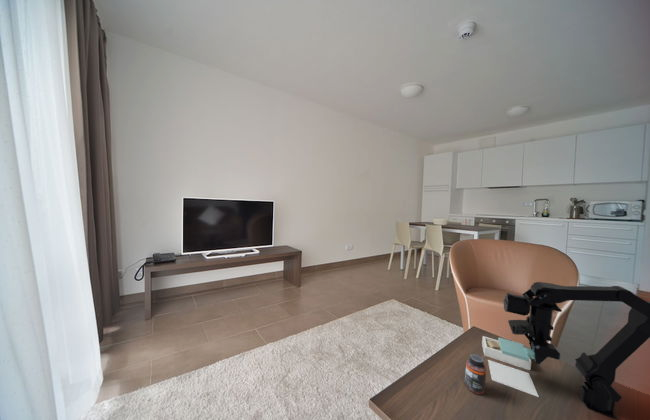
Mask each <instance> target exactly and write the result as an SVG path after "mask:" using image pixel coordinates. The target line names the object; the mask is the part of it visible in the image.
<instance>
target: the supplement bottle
mask: <svg viewBox="0 0 650 420" xmlns="http://www.w3.org/2000/svg"><path fill="white" fill-rule="evenodd" d="M464 374H465V377H464V385H465V387H466V388H467V390H469V391H470V392H472V393H474V394H476V395H483V394H484V393H485V390H486V379H487V366H486V365H485V361H484V358H483V357H481V356H480V355H478V354H475V353H471V354H470V355H469V358H468V359H466V363H465V373H464Z"/></svg>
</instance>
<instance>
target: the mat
mask: <svg viewBox="0 0 650 420" xmlns="http://www.w3.org/2000/svg"><path fill="white" fill-rule="evenodd" d="M487 364H488V367H489V372H490V377H491V381H493V382H496V383H498V384H501V385H505V386H507V387H510V388H512V389H516V390H518V391H521V392H523V393H526V394H528V395H532V396H534V397H537V398H539V393H538V392H537V390H536V386H535V385H534V382H533V379H532V378H531V375H530V373H529V372H526V371H523V370H521V369H518V368H514V367H512V366H508V365H505V364H502V363H499V362H496V361H494V360H490V359H487Z"/></svg>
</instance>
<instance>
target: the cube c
mask: <svg viewBox="0 0 650 420" xmlns="http://www.w3.org/2000/svg"><path fill="white" fill-rule="evenodd" d="M487 347H489V348H493V349H496V350H499V351H501V348H500V345H499V343H498V342H495V341H488V340H487Z"/></svg>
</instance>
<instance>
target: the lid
mask: <svg viewBox="0 0 650 420" xmlns="http://www.w3.org/2000/svg"><path fill="white" fill-rule="evenodd" d="M497 340H498V341H499V345H500V348H501V351H502V354H505V355H509V356H512V357H515V358H518V359H522V360H525V361H528V362H529V358H530V359H531V360H535V356H534V351H533V349H531V348H530V347H526V346H524V344H523V343H520V342H517V341H512V340H509V339H506V338H502V337H498V338H497Z"/></svg>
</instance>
